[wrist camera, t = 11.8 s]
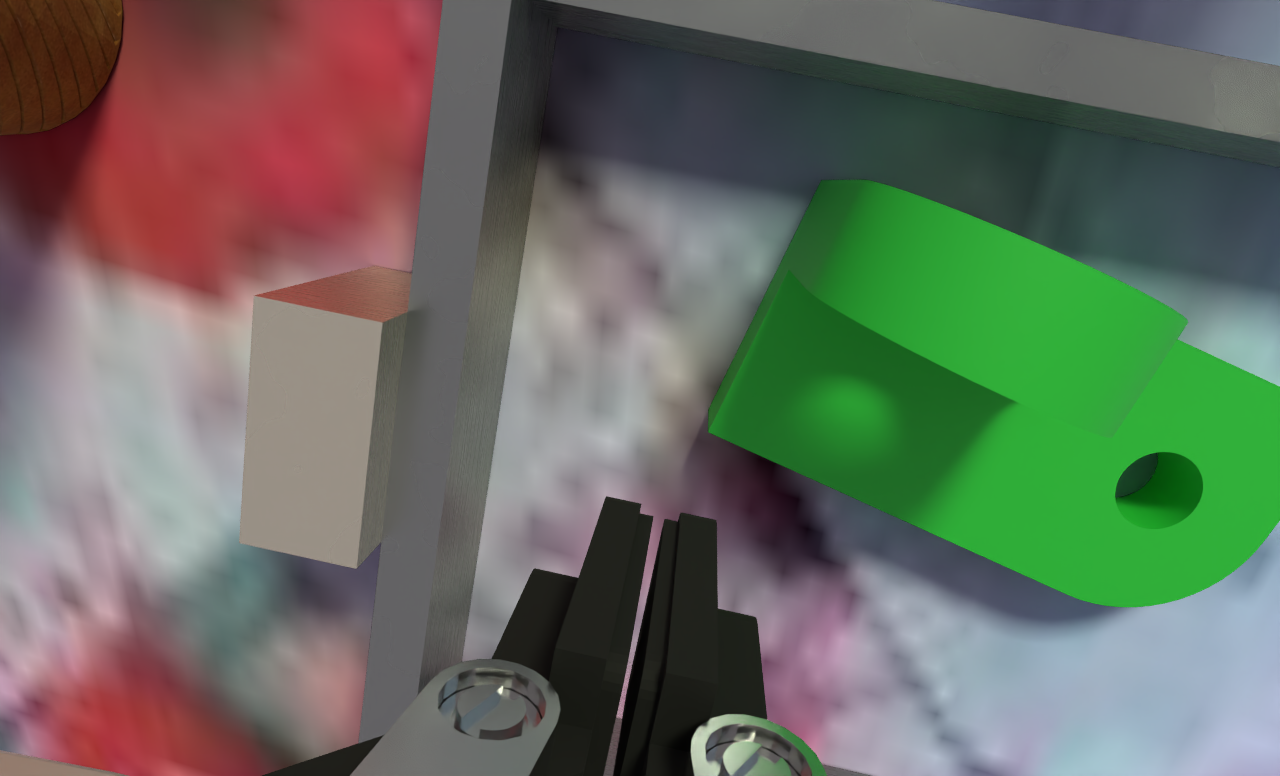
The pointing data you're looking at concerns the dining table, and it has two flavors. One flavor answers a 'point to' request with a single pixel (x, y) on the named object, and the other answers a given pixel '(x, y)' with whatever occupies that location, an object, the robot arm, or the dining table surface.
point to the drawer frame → (493, 251)
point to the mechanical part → (1003, 400)
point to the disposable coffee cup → (54, 59)
